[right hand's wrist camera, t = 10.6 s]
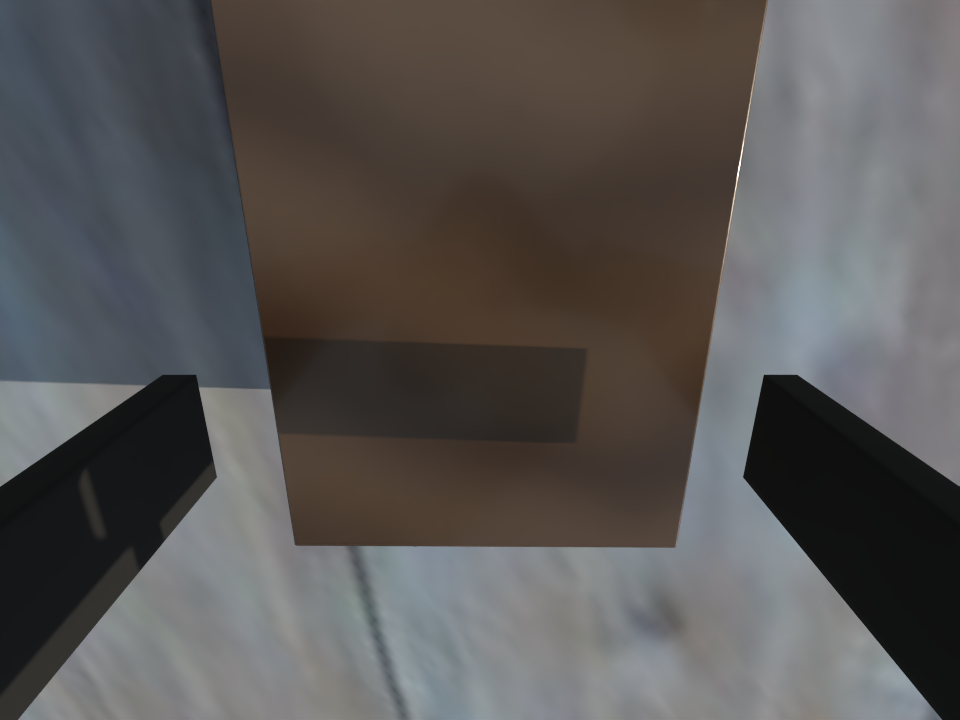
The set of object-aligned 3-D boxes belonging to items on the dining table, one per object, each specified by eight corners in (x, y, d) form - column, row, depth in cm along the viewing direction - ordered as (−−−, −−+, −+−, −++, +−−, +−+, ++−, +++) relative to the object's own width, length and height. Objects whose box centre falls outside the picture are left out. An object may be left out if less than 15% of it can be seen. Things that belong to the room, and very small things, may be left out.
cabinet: (316, -216, 17) (101, -684, 8) (659, -218, 17) (886, -690, 8) (367, 393, 25) (294, 546, 16) (602, 394, 25) (676, 548, 16)
